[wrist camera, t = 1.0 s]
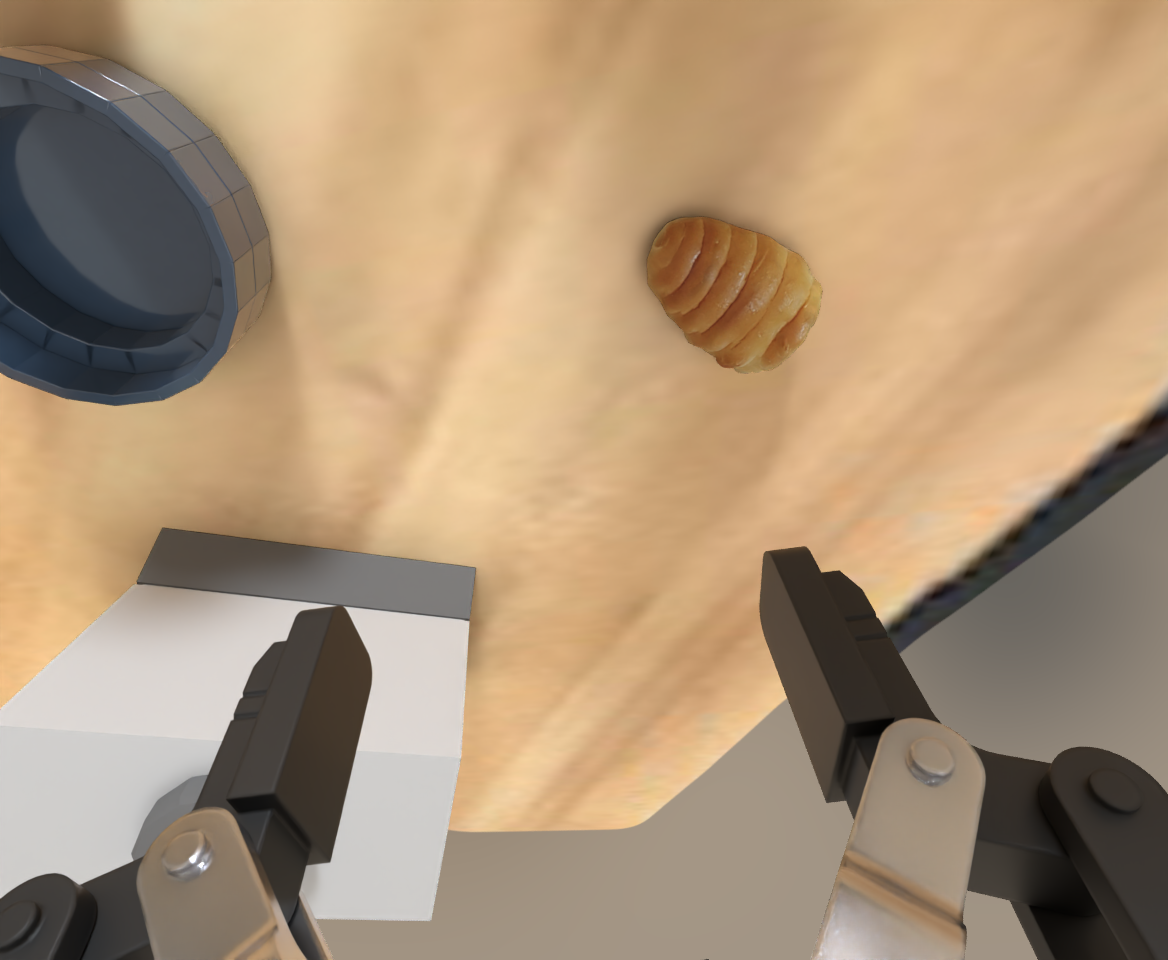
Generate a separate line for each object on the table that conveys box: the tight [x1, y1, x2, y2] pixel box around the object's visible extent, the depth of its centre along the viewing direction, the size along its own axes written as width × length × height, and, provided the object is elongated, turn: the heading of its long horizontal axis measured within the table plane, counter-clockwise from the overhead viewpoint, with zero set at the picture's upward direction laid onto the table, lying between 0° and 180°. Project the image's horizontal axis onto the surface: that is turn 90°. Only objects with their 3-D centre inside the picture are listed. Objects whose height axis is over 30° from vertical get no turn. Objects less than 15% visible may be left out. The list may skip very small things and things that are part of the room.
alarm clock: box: [0, 528, 476, 921], centre depth 39 cm, size 20×16×20 cm
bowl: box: [0, 45, 271, 406], centre depth 29 cm, size 14×14×5 cm
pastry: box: [647, 217, 823, 374], centre depth 33 cm, size 9×7×4 cm
